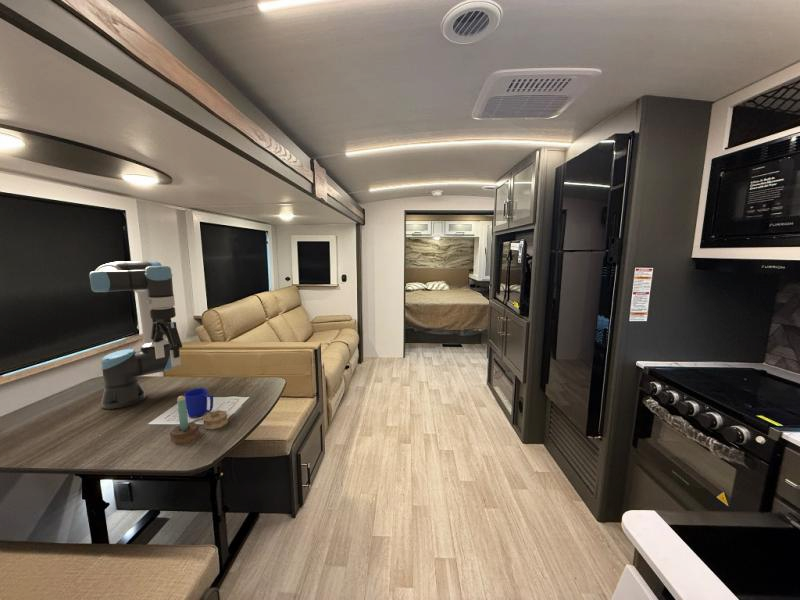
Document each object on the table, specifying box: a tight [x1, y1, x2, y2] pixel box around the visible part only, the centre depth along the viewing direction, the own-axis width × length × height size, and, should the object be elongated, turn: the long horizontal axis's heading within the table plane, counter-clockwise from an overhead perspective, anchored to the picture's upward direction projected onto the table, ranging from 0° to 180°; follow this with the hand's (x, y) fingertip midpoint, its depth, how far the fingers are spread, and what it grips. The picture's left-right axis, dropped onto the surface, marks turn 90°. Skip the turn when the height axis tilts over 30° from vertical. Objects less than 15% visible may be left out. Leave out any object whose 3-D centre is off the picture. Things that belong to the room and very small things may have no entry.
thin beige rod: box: [188, 414, 206, 423], centre depth 126 cm, size 14×1×1 cm, turn 147°
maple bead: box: [202, 409, 229, 430], centre depth 124 cm, size 8×8×4 cm
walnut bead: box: [169, 421, 200, 445], centre depth 115 cm, size 8×8×4 cm
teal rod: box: [176, 395, 189, 431], centre depth 114 cm, size 2×2×16 cm
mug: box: [183, 387, 214, 418], centre depth 131 cm, size 8×12×10 cm
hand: (168, 361), depth 119 cm, fingers open, 13 cm apart
